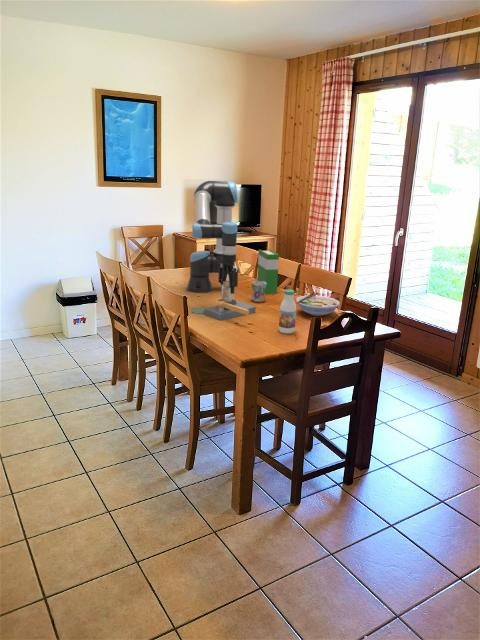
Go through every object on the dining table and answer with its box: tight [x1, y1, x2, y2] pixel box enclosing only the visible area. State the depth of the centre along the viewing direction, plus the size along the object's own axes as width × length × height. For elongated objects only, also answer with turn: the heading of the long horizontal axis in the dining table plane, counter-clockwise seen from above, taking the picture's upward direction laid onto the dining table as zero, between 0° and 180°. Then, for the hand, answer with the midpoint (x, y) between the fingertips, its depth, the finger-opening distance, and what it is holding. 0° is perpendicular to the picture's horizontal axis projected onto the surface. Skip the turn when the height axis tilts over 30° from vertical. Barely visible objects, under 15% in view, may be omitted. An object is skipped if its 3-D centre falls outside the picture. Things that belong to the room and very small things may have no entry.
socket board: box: [203, 301, 257, 321], centre depth 261 cm, size 13×24×6 cm, turn 132°
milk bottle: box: [278, 289, 297, 335], centre depth 234 cm, size 8×8×20 cm
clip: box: [217, 300, 250, 316], centre depth 247 cm, size 4×21×2 cm, turn 44°
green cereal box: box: [256, 248, 280, 295], centre depth 308 cm, size 18×7×24 cm, turn 14°
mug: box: [250, 280, 267, 303], centre depth 287 cm, size 12×9×11 cm
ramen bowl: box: [296, 292, 340, 317], centre depth 265 cm, size 25×23×8 cm
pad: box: [190, 307, 206, 315], centre depth 263 cm, size 9×9×1 cm
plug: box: [217, 279, 237, 310], centre depth 260 cm, size 10×10×16 cm
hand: (227, 298), depth 260 cm, fingers closed on plug, 5 cm apart
